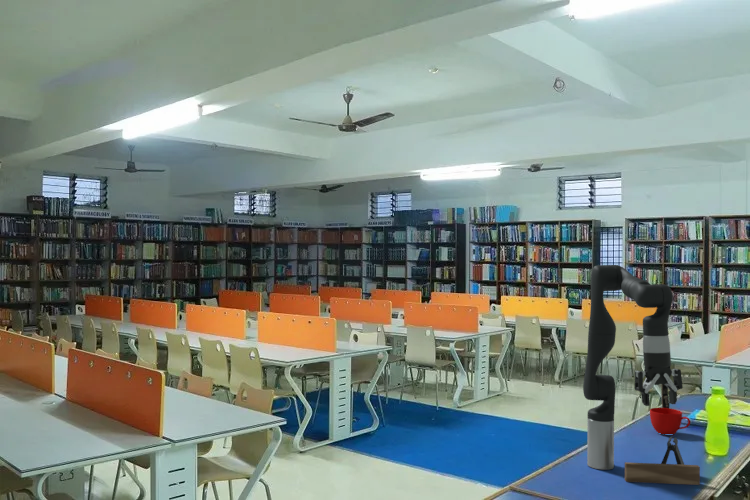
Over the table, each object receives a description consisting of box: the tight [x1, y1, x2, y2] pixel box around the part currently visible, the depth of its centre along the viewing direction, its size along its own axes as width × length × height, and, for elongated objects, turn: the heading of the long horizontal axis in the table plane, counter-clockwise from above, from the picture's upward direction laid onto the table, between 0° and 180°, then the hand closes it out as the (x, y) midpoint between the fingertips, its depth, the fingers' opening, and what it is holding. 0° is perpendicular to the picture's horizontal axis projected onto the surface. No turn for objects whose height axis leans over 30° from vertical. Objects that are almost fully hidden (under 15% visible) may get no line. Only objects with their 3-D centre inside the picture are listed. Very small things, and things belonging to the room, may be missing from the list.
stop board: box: [624, 461, 701, 486], centre depth 220 cm, size 2×24×6 cm, turn 85°
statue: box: [660, 384, 670, 409], centre depth 307 cm, size 4×7×20 cm, turn 102°
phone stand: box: [660, 436, 685, 465], centre depth 231 cm, size 9×6×12 cm, turn 60°
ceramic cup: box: [649, 407, 691, 435], centre depth 283 cm, size 13×17×10 cm
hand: (659, 404), depth 194 cm, fingers open, 8 cm apart
